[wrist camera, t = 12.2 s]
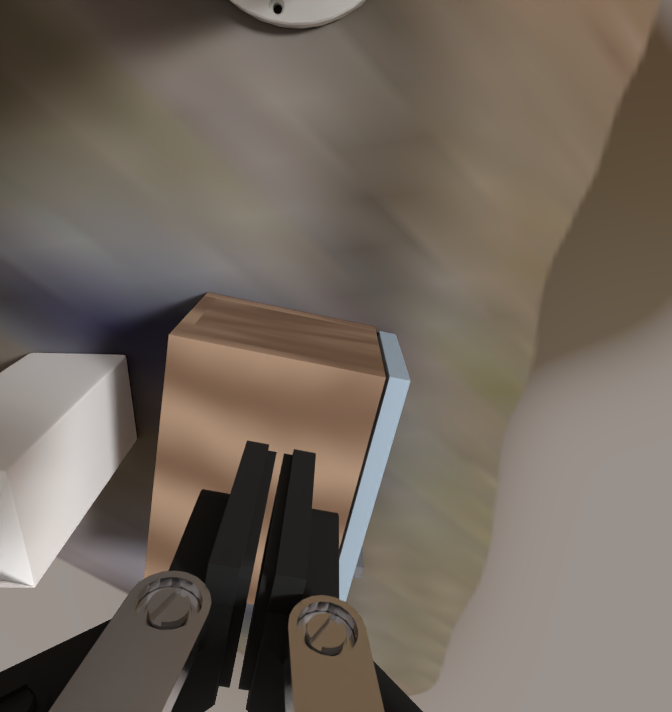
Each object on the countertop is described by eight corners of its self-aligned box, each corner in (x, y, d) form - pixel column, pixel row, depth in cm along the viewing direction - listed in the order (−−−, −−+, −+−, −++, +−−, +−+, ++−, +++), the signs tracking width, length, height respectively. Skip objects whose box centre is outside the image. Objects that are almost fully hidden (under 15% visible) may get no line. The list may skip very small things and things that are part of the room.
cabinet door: (379, 331, 37) (389, 376, 29) (409, 337, 37) (427, 384, 30) (327, 529, 43) (325, 608, 36) (353, 534, 43) (356, 613, 36)
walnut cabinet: (207, 292, 36) (168, 334, 28) (375, 326, 37) (385, 377, 29) (181, 501, 43) (143, 586, 34) (324, 526, 44) (321, 615, 35)
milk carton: (138, 438, 41) (-14, 659, 23) (47, 436, 41) (-176, 656, 23) (127, 353, 38) (-55, 529, 20) (29, 351, 38) (-237, 525, 20)
